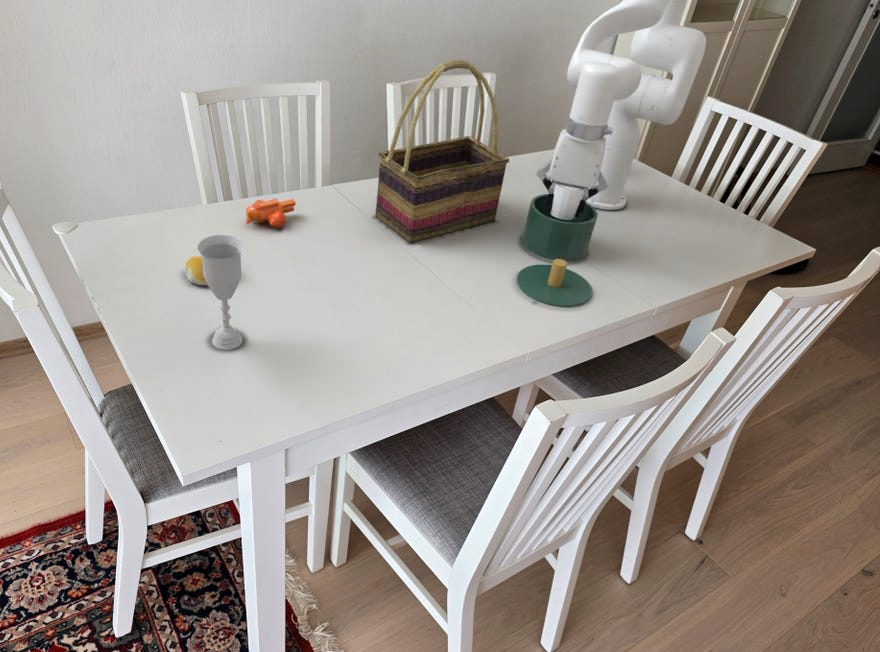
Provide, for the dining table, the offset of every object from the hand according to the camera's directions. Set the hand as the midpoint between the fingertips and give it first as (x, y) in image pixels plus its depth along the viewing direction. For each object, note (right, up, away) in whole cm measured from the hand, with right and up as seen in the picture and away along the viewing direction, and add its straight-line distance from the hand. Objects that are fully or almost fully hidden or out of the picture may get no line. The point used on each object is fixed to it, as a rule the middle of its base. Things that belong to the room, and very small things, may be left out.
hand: (563, 211), depth 147 cm
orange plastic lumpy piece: (-63, -3, +1) cm, 63 cm away
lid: (-4, -17, -9) cm, 20 cm away
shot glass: (0, -1, +1) cm, 1 cm away
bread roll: (-72, -16, -17) cm, 76 cm away
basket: (-27, 0, +11) cm, 29 cm away
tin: (-1, -7, +6) cm, 9 cm away
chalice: (-65, -29, -32) cm, 78 cm away
